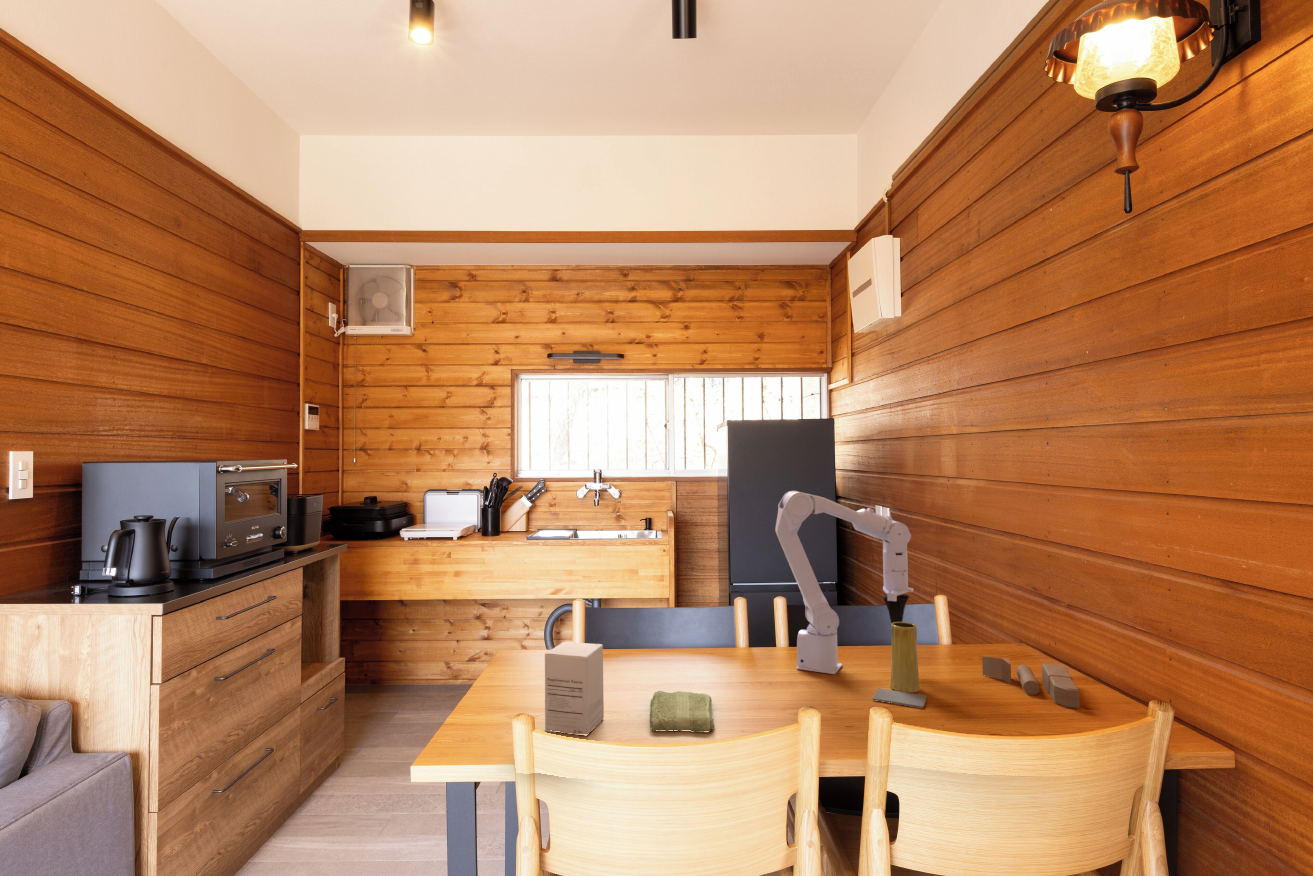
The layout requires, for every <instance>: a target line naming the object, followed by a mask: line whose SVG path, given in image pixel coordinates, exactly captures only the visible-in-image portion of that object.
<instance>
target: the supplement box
mask: <svg viewBox="0 0 1313 876" xmlns="http://www.w3.org/2000/svg"><path fill="white" fill-rule="evenodd" d="M604 706H605V703H604V645H603V643H602V644H601V643H587V642H586V643H585V642H576V641H562V642H561V643H559V644H558V645H556V646H555V647H553V648H552V649H550V650H548V651H547V652H545V653H544V728H545V730H544V732H546V731H547V732H546V733H554V734H557V733H556V732H554V731H560V732H563V733H564V735H566V734H565V733H572V734H588V733H589V732H590V731H591V730H592V729H593V728H594V727H595V728H596V727H597V726H599V724H600V723H601V722H602V721H603V720H604V719H605V717H604V712H605V710H604V709H605V708H604ZM603 718H604V719H603ZM601 720H602V721H601ZM596 725H597V726H596ZM550 730H552V731H550ZM560 734H562V733H560ZM562 735H563V734H562Z"/></svg>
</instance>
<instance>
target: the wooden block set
mask: <svg viewBox="0 0 1313 876" xmlns="http://www.w3.org/2000/svg"><path fill="white" fill-rule="evenodd" d="M1015 672H1016V675H1017V677H1018V679H1019V682H1020V685H1021V688H1022V689H1023V691H1024V692H1025V694H1027V695H1029V694H1030V696H1035V695H1037V694H1039V693H1040V691H1041V686H1040V684H1039V682H1038V680H1037V678H1036V675H1035V674H1034V672H1033V669H1032V668H1031V667H1030V666H1029V665H1026V664H1020V665H1018V666H1017V667H1016V671H1015ZM984 675H986V676H985V677H987V676H989V677H988V678H991V679H993V678H994V679H993V680H996V679H997V680H996V681H999V680H1000V681H999V682H1002V681H1003V682H1002V683H1005V682H1006V683H1005V684H1008V683H1010V684H1009V685H1012V664H1011V662H1010V659H1009V658H1003V657H994V656H993V657H992V656H985V655H984V656H982V676H984ZM1041 679H1042V684H1043V685H1044V688H1045V687H1046V688H1045V689H1046V691H1047V693H1048V694H1049V695H1050V696H1051V698H1052V700H1053V702H1054V703H1055V704H1056V705H1059V706H1062V707H1065V708H1067V709H1074V710H1078V709H1080V707H1081V706H1080V703H1081V702H1080V690H1079V688H1078V687H1077V685H1076V684H1075V683H1074V679H1073V677H1072V674H1070V672H1069V670H1068V669H1067V667H1065V665H1064V664H1057V663H1056V664H1055V663H1041Z"/></svg>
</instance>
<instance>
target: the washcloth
mask: <svg viewBox="0 0 1313 876" xmlns="http://www.w3.org/2000/svg"><path fill="white" fill-rule="evenodd" d="M649 717H650V718H649V722H650V729H651V728H652V730H651V731H653V730H654V731H653V732H655V731H656V730H673V731H674V730H691V731H711V732H712V730H713V729H714V728H716V727H715V723H714V719H713V712H712V696H710V695H709V694H707V693H700V692H699V693H697V692H690V691H683V690H682V691H672V692H668V691H664V690H658V691H655V692H654V693H653V695H652V698H651V699H650V711H649ZM712 728H713V729H712ZM710 729H711V730H710Z"/></svg>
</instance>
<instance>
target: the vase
mask: <svg viewBox="0 0 1313 876" xmlns="http://www.w3.org/2000/svg"><path fill="white" fill-rule="evenodd" d="M890 625H891V670H890V671H891V673H890V674H891V675H890V677H891V678H890V688H891V689H892V690H893V689H894V690H893V691H900V692H906V693H913V694H916V693H918V692H919V691H920V689H921V687H920V679H919V678H920V677H919V675H920V674H919V664H918V663H919V662H918V661H919V659H918V640H917V639H918V638H917V634H918V633H917V630H918V629H917V625H916V624H915V623H912V622H906V621H902V622H893V623H891V624H890Z"/></svg>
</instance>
